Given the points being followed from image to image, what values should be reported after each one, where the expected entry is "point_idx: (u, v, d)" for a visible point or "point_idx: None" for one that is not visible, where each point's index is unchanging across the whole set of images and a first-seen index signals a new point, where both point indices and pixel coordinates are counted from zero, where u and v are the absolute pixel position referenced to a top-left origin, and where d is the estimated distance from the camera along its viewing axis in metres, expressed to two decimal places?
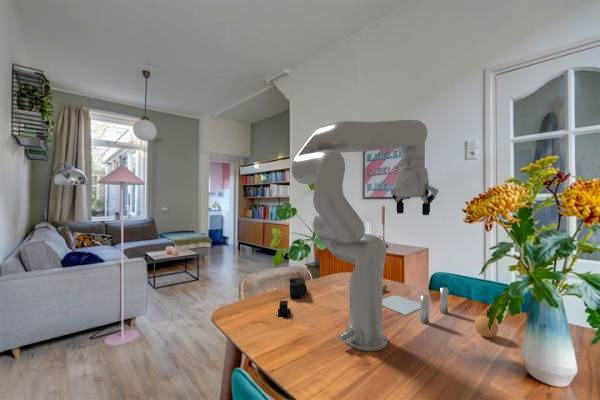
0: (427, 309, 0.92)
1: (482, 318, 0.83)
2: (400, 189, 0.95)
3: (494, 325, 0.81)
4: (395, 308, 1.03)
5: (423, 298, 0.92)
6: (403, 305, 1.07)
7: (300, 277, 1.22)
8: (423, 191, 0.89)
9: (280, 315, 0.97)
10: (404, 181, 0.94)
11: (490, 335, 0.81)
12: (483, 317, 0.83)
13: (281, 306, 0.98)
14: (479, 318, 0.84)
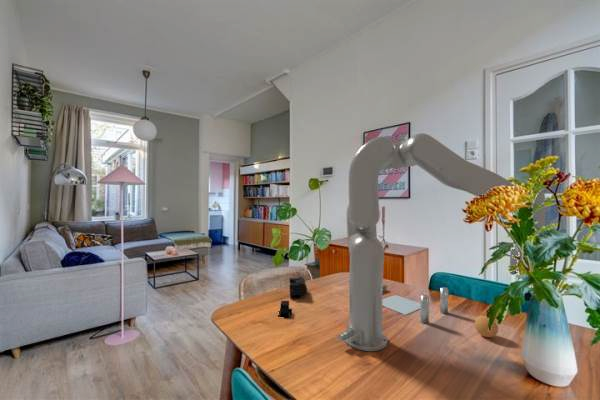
0: (427, 309, 0.92)
1: (482, 318, 0.83)
2: None
3: (494, 325, 0.81)
4: (395, 308, 1.03)
5: (423, 298, 0.92)
6: (403, 305, 1.07)
7: (300, 277, 1.22)
8: None
9: (281, 315, 0.97)
10: None
11: (490, 335, 0.81)
12: (483, 317, 0.83)
13: (282, 306, 0.98)
14: (479, 318, 0.84)
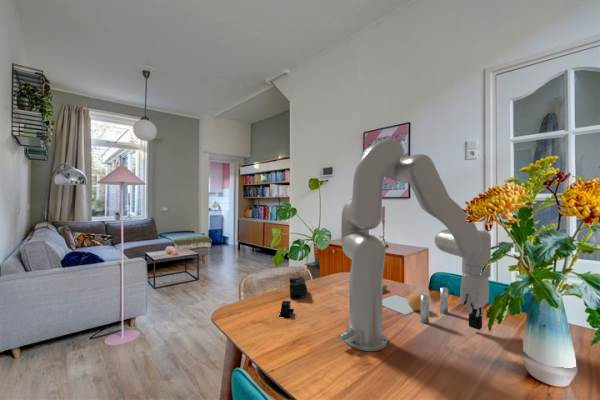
0: (427, 309, 0.92)
1: (408, 298, 1.04)
2: None
3: (415, 294, 1.03)
4: (395, 308, 1.03)
5: (423, 298, 0.92)
6: (403, 305, 1.07)
7: (300, 277, 1.22)
8: (461, 300, 0.84)
9: (282, 315, 0.97)
10: None
11: (418, 301, 1.00)
12: None
13: (283, 306, 0.98)
14: (408, 300, 1.04)
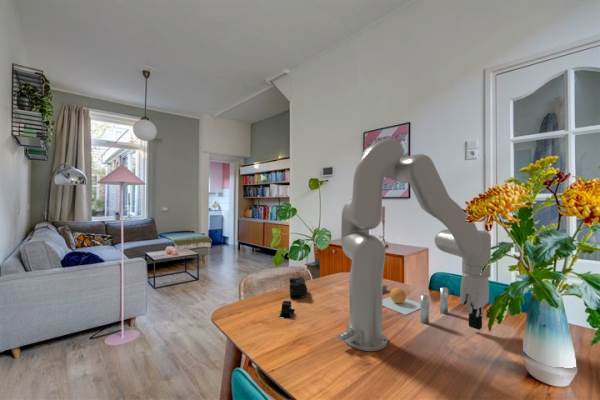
0: (427, 309, 0.92)
1: (400, 302, 1.07)
2: None
3: None
4: (395, 308, 1.03)
5: (423, 298, 0.92)
6: (403, 305, 1.07)
7: (300, 277, 1.22)
8: (461, 300, 0.84)
9: (282, 315, 0.97)
10: None
11: (390, 294, 1.10)
12: (401, 302, 1.07)
13: (283, 306, 0.98)
14: (401, 301, 1.07)
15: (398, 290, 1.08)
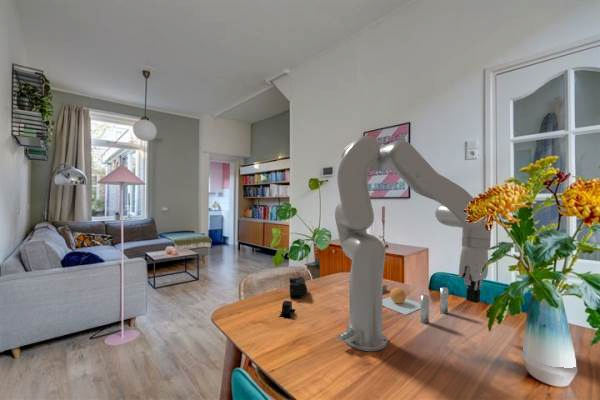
0: (427, 309, 0.92)
1: (400, 302, 1.07)
2: None
3: None
4: (395, 308, 1.03)
5: (423, 298, 0.92)
6: (403, 305, 1.07)
7: (300, 277, 1.22)
8: (460, 273, 0.84)
9: (282, 315, 0.97)
10: None
11: (390, 294, 1.10)
12: (401, 302, 1.07)
13: (284, 306, 0.98)
14: (401, 301, 1.07)
15: (398, 290, 1.08)
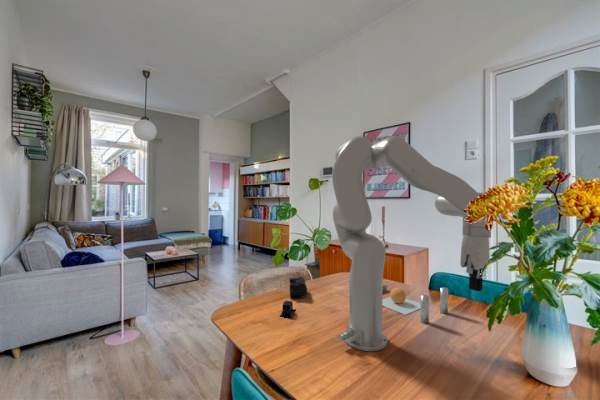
0: (427, 309, 0.92)
1: (400, 302, 1.07)
2: None
3: None
4: (395, 308, 1.03)
5: (423, 298, 0.92)
6: (403, 305, 1.07)
7: (300, 277, 1.22)
8: (462, 262, 0.84)
9: (283, 315, 0.97)
10: None
11: (390, 294, 1.10)
12: (401, 302, 1.07)
13: (284, 306, 0.98)
14: (401, 301, 1.07)
15: (398, 290, 1.08)
